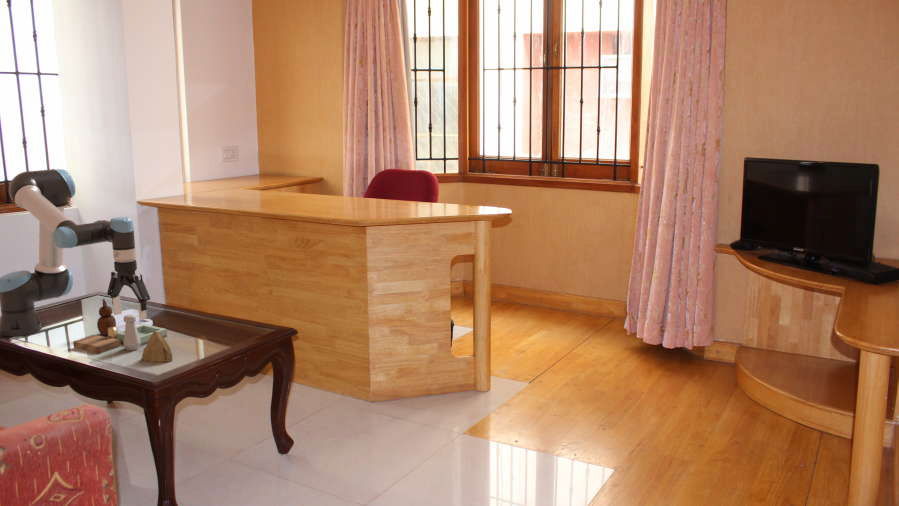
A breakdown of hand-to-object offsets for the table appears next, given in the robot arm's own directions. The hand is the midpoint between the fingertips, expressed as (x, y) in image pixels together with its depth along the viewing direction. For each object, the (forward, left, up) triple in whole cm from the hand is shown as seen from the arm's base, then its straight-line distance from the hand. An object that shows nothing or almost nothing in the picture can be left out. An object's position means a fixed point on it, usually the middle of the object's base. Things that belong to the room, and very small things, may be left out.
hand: (130, 316), depth 279 cm
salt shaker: (0, 0, -13) cm, 13 cm away
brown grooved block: (-13, -5, -13) cm, 19 cm away
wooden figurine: (-23, +7, -13) cm, 27 cm away
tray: (-7, +10, -12) cm, 17 cm away
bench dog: (-12, +1, -12) cm, 18 cm away
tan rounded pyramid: (+18, -4, -13) cm, 22 cm away
